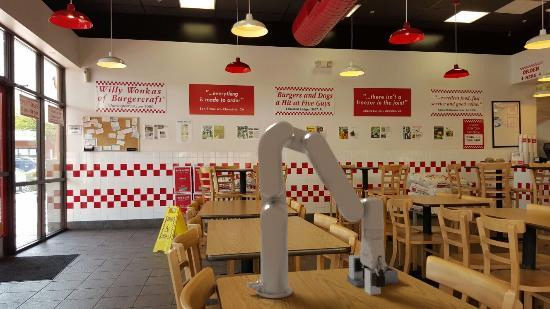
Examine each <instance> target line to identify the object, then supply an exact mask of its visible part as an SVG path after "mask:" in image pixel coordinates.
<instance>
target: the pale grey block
mask: <svg viewBox="0 0 550 309" xmlns="http://www.w3.org/2000/svg"><path fill="white" fill-rule="evenodd" d="M378 271H380V270H379V269H378ZM376 275H377V274H376V271H375V268H374V269H371V268H365V286H364V292H365V293H366V294H368V295H370V296H372V295H381V293H382V292H381V290H382V289H381V288H382V287H378V288H377V287H376Z"/></svg>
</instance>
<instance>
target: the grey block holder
mask: <svg viewBox="0 0 550 309" xmlns="http://www.w3.org/2000/svg"><path fill="white" fill-rule="evenodd" d="M362 268H364V267H362V263H361V261H360V254H349V255H348V274H347V275H346V281H347V282H348V283H350V284H352V285H353V286H354V287H356V288H357V287H365V279H363V272H362ZM379 270H380V269H379ZM399 282H400V280H399V270H396V269H395V268H393V267H390V266H389V265H387V269H386V275H385V285H391V284H392V285H393V284H399Z"/></svg>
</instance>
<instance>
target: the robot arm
mask: <svg viewBox="0 0 550 309" xmlns="http://www.w3.org/2000/svg"><path fill="white" fill-rule="evenodd" d="M284 148H285V149H289V150H291V151H294V152H298V153H301V154H303V155H306V157H307V158H308V160H309V163H310V164H311V166H312V167H313V169H314V171H315V173H316V174H317V176H318V178H319V180H320V182H321V183H322V184H323V186H324V187H325V188H326V189H327V191H328V192H329V194H330V195H331V197H332V198H333V200H334V201H335V203H336V206H337V209H338V212H339V214H340V215H341V216H342V218H344V219H345V220H346V221H348V222H352V223H354V222H358V221H361V222H360V226H361V228H360V229H361V239H360V248H359V249H360V251H359V252H360V254H359V255H360V261H361V263H362V267H364V268H362V272H363V279H365V268H371V269H374V268H375V271H376V274H377V275H376V287H377V288H378V287H381V288H385V286H386V284H385V275H386V269H387V266H388V264H387V262H386V256H385V255H386V254H385V253H386V252H385V245H384V239H385V235H384V234H385V232H384V231H385V230H384V228H385V227H384V202H383V200H382V199H381V198H378V197H364V198H361V197H359V195H358V193H357V192H356V190H355V189H354V187H353V185H352V183H351V182H350V180H349V178H348V177H347V175H346V173H345V171H344V169H343V168H342V166H341V164H340V163H339V161H338V159H337V157H336V155H335V153H334V152H333V150H332V148H331V147H330V144H329V143H328V141H327V140H326V138H325V136H324V135H323V134H322V133H320V132H318V131H307V130H305V129H301V128H298V127H297V126H296V127H295V126H293V124H292V123H290V122H288V121H285V120H280V121H277V122H275V123H273V124H272V125H270V126H269V127H267V128H266V129H265V130H264V132H263V133H262V135H261V136H260V138H259V141H258V146H257V164H258V165H257V167H258V168H257V169H258V189H259V192H260V203H261V211H260V214H259V215H260V216H259V229H260V230H259V231H260V277H259V278H258V280H256V281H252V282H249V281H248V282H247V283H246V284H247V289H252V290H256V294H257V295H258V296H259V297H263V298H268V299H281V298H286V297H289V296H291V295H292V294H293V288H292V286H289V246H288V245H289V243H288V241H289V240H288V238H289V236H288V235H289V226H288V225H289V215H288V214H289V213H288V203H287V189H286V179H285V177H284V171H283V170H284V169H283V149H284ZM378 269H380V271H378Z"/></svg>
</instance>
